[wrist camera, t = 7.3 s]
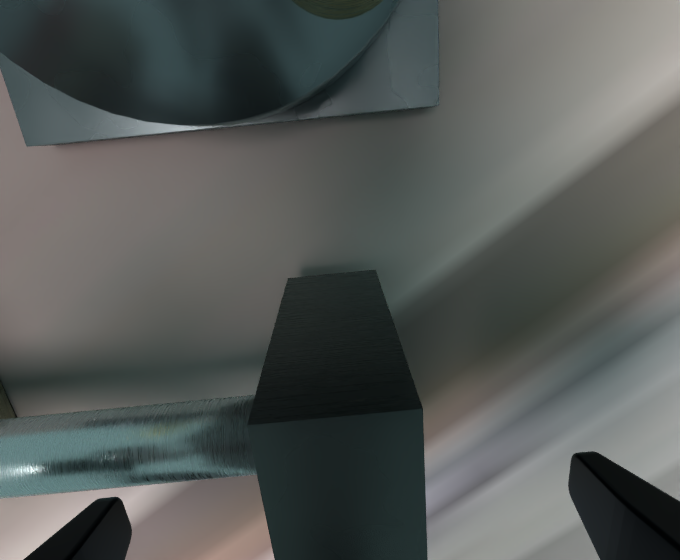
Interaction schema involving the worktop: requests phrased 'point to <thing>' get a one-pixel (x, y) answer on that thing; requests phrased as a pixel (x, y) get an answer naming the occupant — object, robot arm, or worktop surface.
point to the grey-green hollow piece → (5, 405)
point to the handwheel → (190, 53)
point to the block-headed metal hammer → (270, 433)
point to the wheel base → (334, 101)
